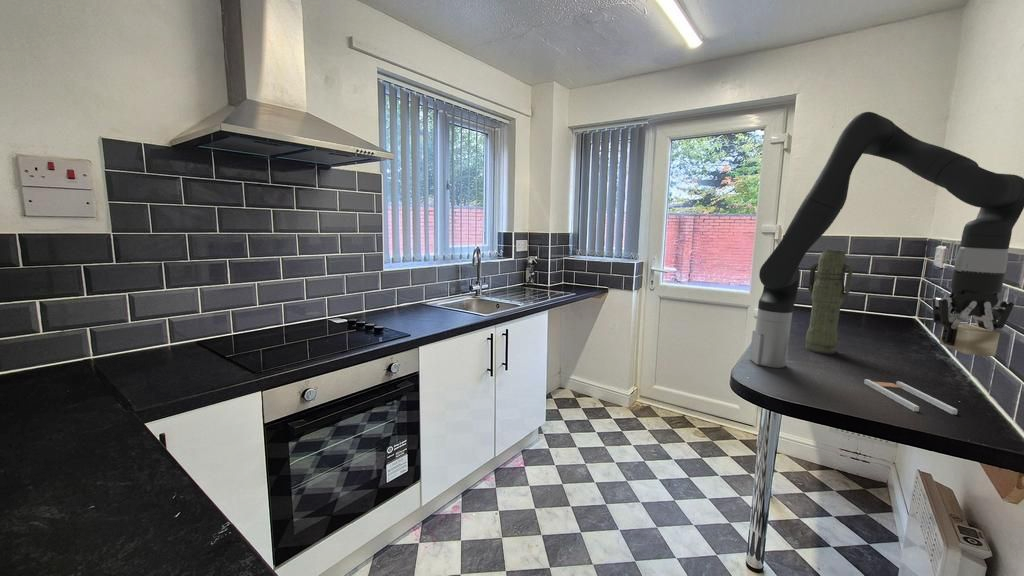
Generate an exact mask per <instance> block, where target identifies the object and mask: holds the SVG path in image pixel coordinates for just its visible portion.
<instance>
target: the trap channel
mask: <svg viewBox="0 0 1024 576" xmlns="http://www.w3.org/2000/svg"><path fill="white" fill-rule="evenodd" d="M863 383H864V385H866V386H868V387H869V388H872V389H873V390H875V391H877V392H879V393H881V394H883V395H884V396H886V397H887V398H890V400H894V402H897V403H899V405H902V406H904V407H905V408H908V410H909V409H910V410H911V411H912V412H919V411H920V406H918V405H917V404H915V403H913V402H911V401H910V400H907V399H906V398H904V397H903V396H900V395H898V394H896V393H895V392H893V391H890V390H889V389H887V388H893V389H901V390H904V391H906V392H908V393H910V394H912V395H913V396H916V397H918V398H920V399H922V400H923V401H925V402H928V403H929V404H930V405H933V406H936V407H937V408H939V409H941V410H943V411H945V412H947V413H949V414H951V415H955V416H956V415H957V414H958V409H957V408H955V407H953V406H951V405H949V404H947V403H945V402H943V401H942V400H939V399H937V398H935V397H932V396H931V395H929V394H927V393H924V392H922V391H921V390H918V389H916V388H915V387H912V386H910V385H909V384H906V383H904V382H902V381H898V380H897V381H896V382H895V383H894V382H893V383H892V382H885V381H883V382H882V381H881V382H880V381H873V380H871V379H866V378H865V379H864V381H863Z"/></svg>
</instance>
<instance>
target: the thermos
mask: <svg viewBox="0 0 1024 576" xmlns="http://www.w3.org/2000/svg"><path fill="white" fill-rule="evenodd" d="M816 269H817V270H816ZM846 269H847V270H848V273H847V279H846V280H847V281H846V286H845V282H844V281H845V278H844V276H845V273H846ZM853 270H854V269H852V266H850V265H848V264H847V257H846V253H845V252H843V250H828V249H827V250H825V251H822V252H821V254H820V256H819V258H818V263H813V265H812V266H811V267H810V270H809V282H808V289H807V290H808V292H810V294H812V295H811V301H812V306H811V313H810V320H809V327H808V329H807V330H806V335H805V349H806V350H808V351H810V352H813V353H817V354H828V355H831V354H836V347H837V345H838V339H839V332H838V327H839V326H838V325H839V318H840V312H841V305H842V304H843V303H844V298H845V297H846V298H848V297H849V295H850V292H851V291H850V290H851V284H852V277H853ZM816 271H817V272H816ZM816 273H817V276H816ZM815 277H816V278H815Z"/></svg>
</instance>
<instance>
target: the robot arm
mask: <svg viewBox="0 0 1024 576" xmlns="http://www.w3.org/2000/svg"><path fill="white" fill-rule="evenodd" d="M863 154H864V155H870V156H873V157H879V158H883V159H886V160H890V161H892V162H894V163H897V164H899V165H900V166H903V167H904V168H906V169H907V170H909V171H910V172H912V173H913V174H915V175H917V176H918V177H919V178H922V179H924V180H927V181H928V182H930V183H932V184H935V185H936V186H938V187H941V188H943V189H945V190H946V191H947V192H948V193H950V194H951V195H952V196H954V197H955V198H956V199H958V200H959V201H961V202H963V203H965V204H967V205H969V206H972V207H976V208H980V209H979V211H978V213H977V215H976V218H975V219H973V220H970V221H968V222H967V223H965V225H964V227H963V230H962V235H961V240H960V245H959V249H958V252H957V254H956V256H955V262H954V268H953V271H952V276H951V282H950V288H951V292H950V294H949V295H948V297H946V296H945V297H937V296H936V297H933V298H932V314H933V315H932V316H933V317H932V318H933V323H934V324H938V325H940V326H942V329H943V333H942V332H941V334H942V338H941V337H940V339H942V341H943V343H944V344H947V345H952V346H953V345H954V344H955V339H956V334H957V329H956V328H957V327H958V326H959V324H962V321H965V320H966V319H967V317H971V316H972V318H973V320H975V326H977V327H981V328H984V329H987V330H990V331H994V330H997V329H999V330H1000V329H1001V330H1002V329H1003V328H1004V327H1005V324H1006V322H1007V320H1008V318H1009V316H1010V314H1011V313H1012V310H1013V308H1014V307H1015V306H1014V305H1015V304H1014V302H1012V301H1006V300H1000V299H999V298H998V294H1000V293H1002V290H1003V284H1004V282H1005V281H1004V280H1005V276H1006V270H1007V266H1008V260H1009V248H1010V243H1011V238H1012V233H1013V229H1014V226H1015V225H1016V224H1017V222H1018V220H1019V218H1020V216H1021V214H1022V212H1023V210H1024V177H1023V176H1021V175H1017V174H1011V173H999V172H994V171H990V170H987V169H985V168H984V167H981V166H979V163H977V162H976V161H975V160H974V159H971V158H969V157H968V156H964V155H962V154H960V153H957V152H955V151H953V150H950V149H947V148H944V147H942V146H939V145H936V144H933V143H928V142H925V141H922V140H920V139H919V138H916V137H914V136H913V135H911V134H910V133H907V132H906V131H904V129H902V128H900V127H899V126H898V125H896V123H894V122H893V120H891V119H890V118H887V117H885V116H883V115H880V114H878V113H875V112H873V111H864V112H861V113H859V114H856V115H855V116H854V117H852V119H850V120H849V121H848V122H847V123H846V125H845V126H844V128H843V129H842V131H841V132H840V135H839V137H838V139H837V141H836V143H835V144H834V147H833V149H832V151H831V153H830V155H829V156H828V157H829V158H828V159H827V161H826V163H825V165H824V166H823V168H822V170H821V171H820V173H819V175H818V177H817V178H816V180H815V182H814V183H813V185H812V187H811V188H810V190H809V192H808V193H807V195H806V196H805V198H804V200H803V201H802V203H801V204H800V206H799V208H798V209H797V211H796V213H795V214H794V216H793V218H792V219H791V221H790V224H789V225H788V227H787V229H786V231H785V233H784V235H783V237H782V239H781V240H780V242H779V243H778V244H777V246H776V247H775V249H774V250H773V251H772V253H771V254H770V255H769V256H768V258H766V260H765V262H764V263H763V264H762V265H761V267H760V269H759V274H758V275H759V281H760V282H761V284H762V285H763V289H762V294H761V296H760V298H759V300H758V307H757V316H756V322H755V323H756V324H755V330H752V334H751V343H750V351H749V352H750V353H749V360H750V361H752V362H753V363H754V364H755V365H757V366H764V367H768V368H776V369H777V368H778V369H779V368H780V369H781V368H785V367H786V366H787V361H788V351H789V342H790V336H791V328H792V320H793V315H794V314H793V313H794V306H795V303H796V301H797V296H798V292H799V291H798V290H799V284H800V283H799V282H800V274H801V273H800V268H799V265H800V263H801V262H802V260H803V259H804V258H805V255H806V254H807V252H808V251H809V250H810V248H811V247H813V245H814V244H815V243H816V242H817V241H818V240H819V239H820V238H821V237H822V236H823V235H824V234H825V232H826V231H828V229H829V228H830V227H831V225H832V224H833V223H834V221H835V220H836V218H837V217H838V216H839V214H840V213H841V210H843V208H844V206H845V204H846V200H847V197H848V193H849V188H850V187H849V185H850V179H851V177H852V176H851V175H852V173H853V170H854V168H855V166H856V165H857V163H858V162H859V161H860V158H861V157H862V155H863ZM949 307H950V308H949ZM992 309H993V310H992Z"/></svg>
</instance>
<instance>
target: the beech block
mask: <svg viewBox="0 0 1024 576" xmlns="http://www.w3.org/2000/svg"><path fill="white" fill-rule="evenodd" d="M956 329H957V334H956V339H955V344H954V345H953V346H952V345H947V344H944V343H943V341H942V339H941V338H942V333H943V328H942V330H941V335H940V339H939V345H941V346H944V347H947V348H950V349H951V350H954V351H957V352H960V353H962V354H964V355H970V356H971V355H973V356H983V357H996V353H997V348H998V345H999V344H998V343H999V339H1000V334H1001V333H1000V332H997V331H994V330H992V331H990V330H987V329H984V328H981V327H977V325H973V324H967V323H960V324H959V326H958V327H957V328H956Z"/></svg>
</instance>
